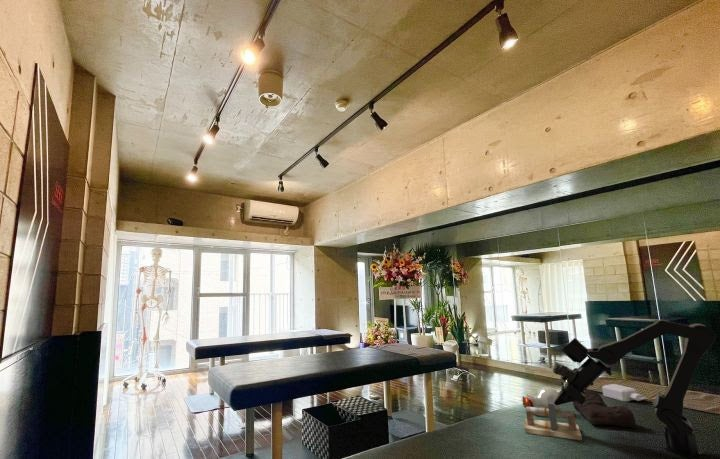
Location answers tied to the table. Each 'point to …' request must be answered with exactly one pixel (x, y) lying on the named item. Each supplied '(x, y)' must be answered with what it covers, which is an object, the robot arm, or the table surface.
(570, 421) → the pipe rig
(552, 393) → the potion bottle
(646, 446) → the table surface
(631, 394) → the charger
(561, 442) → the table surface
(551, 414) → the collar
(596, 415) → the brown curved lump
